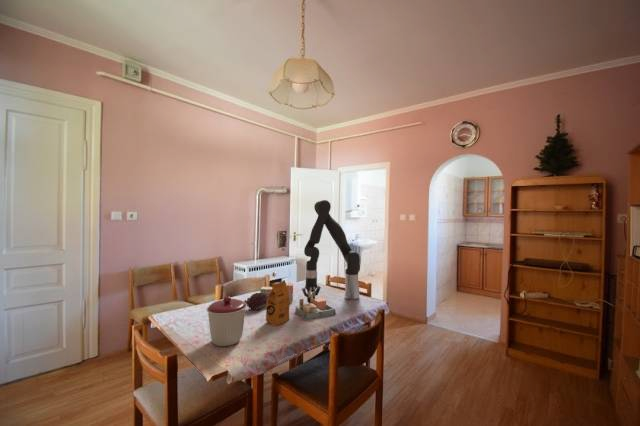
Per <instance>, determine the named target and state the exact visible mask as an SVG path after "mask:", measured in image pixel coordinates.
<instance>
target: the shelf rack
mask: <svg viewBox="0 0 640 426" xmlns="http://www.w3.org/2000/svg"><path fill="white" fill-rule="evenodd" d="M295 313H296V314H298V315H299V316H300V317H301V318H302V319H304V320H305V321H306V320H307V321H308V320H311V319H312V320H313V319H317V318H322V317H328V316H333V315H336V308H334V307H332V306H331V305H329V304H328V303H327V302H326V310H324V311H321V310H319V309H318V308H317V312H313V313H307V314H306V313H304V312H303V310H301V309H299V306H295Z"/></svg>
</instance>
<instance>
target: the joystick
mask: <svg viewBox="0 0 640 426" xmlns="http://www.w3.org/2000/svg"><path fill="white" fill-rule="evenodd" d="M311 303H312V304H314V305H315V306H317V308H318V309H319V310H321V311H324V310H327V309H326V303H327V300H326V299H324V298H323V297H318V298H315V299H313V294H312V293H311V294H310V303H308V304H311Z"/></svg>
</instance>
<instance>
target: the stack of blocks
mask: <svg viewBox="0 0 640 426" xmlns="http://www.w3.org/2000/svg"><path fill="white" fill-rule="evenodd" d="M286 285H287V288H288V291H289V303H290V304H292V303H293V301H294V283H293V282H286ZM271 289H272V286H262V287H261V288H260V292H259V293H263V294H266V296H269V294H270V293H271Z"/></svg>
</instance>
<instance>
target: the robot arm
mask: <svg viewBox="0 0 640 426" xmlns="http://www.w3.org/2000/svg"><path fill="white" fill-rule="evenodd" d="M331 208H332V207H331V202H330V201H328V200H326V199H323V200H319V201H317V202H315V203H314V211H315V213H316V214H317V218H316V220H315V223H314V225H313V227H312V229H311V232H310V235H309V239H308V240H307V243H306V245H305V246H304V251H303V252H304V253H303V254H304V255H305V256H306V257H307V258H310V259H309V260H307V261H306V262H305V264H306V265H305V267H306V268H305V286H304V287H302V288H301V291H302V293H303V295H304V296H305V298H306V300H307V301H306V302H307V304H309V303H310V294H313V299H316V296H318V295H319V292H320V291H321V289H322V287H321V286H319V285H318V271H317V270H318V269H317V268H318V264H317V263H318V260H319V257H320V248H318V247H316V245H317V244H318V245H319V243H320V242H321V238H322V232H323V229H324V227H325V228H326V229H327V231H328V233H329V234H330V236H331V238H332V239H333V241H334V243H335V244H336V246H337V248H339V250H340V252H341V255H342V257H343V259H344V261H345V262H346V263H347V265H346V269H345V270H344V271H345V274H344V275H345V276H344V279H345V280H344V282H345V283H344V286H345V287H344V298H345V299H347V300H357V299H360V284H359V271H360V266H361V265H360V264H361V258H360V254H359V253H358V252H356V251H354V250H353V248H351V246H350V244H349V243H348V240H347V237H346V233H345V231H344V230H343V228H342V226H341V225H340V224H339V223H338V222H337V221H336V220H335V219H334V218H333V217H332V216H331V214H330V211H331Z"/></svg>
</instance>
